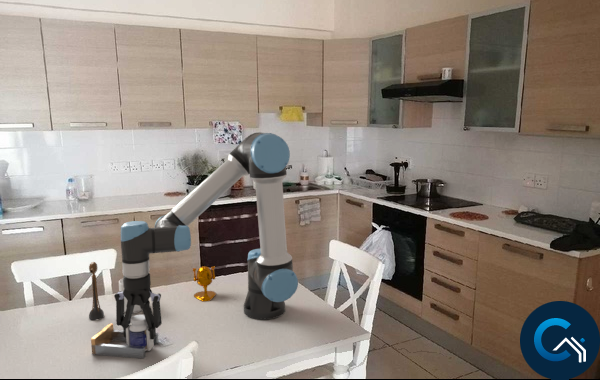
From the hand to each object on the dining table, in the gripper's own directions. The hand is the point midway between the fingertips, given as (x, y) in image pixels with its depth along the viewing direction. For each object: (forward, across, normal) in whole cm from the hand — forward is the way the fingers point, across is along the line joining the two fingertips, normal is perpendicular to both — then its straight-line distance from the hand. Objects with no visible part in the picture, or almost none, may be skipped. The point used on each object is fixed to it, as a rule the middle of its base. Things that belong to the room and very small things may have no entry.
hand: (140, 347), depth 132 cm
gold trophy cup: (+1, -6, -42) cm, 42 cm away
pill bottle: (+1, 0, 0) cm, 1 cm away
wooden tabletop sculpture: (+1, +26, -18) cm, 31 cm away
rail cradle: (+1, +5, 0) cm, 5 cm away
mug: (+1, +16, -28) cm, 33 cm away
